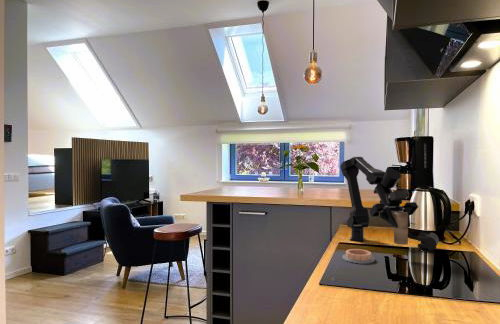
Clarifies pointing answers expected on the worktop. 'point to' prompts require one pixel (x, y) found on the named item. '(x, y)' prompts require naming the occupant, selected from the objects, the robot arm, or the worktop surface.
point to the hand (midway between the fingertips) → (403, 226)
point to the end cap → (427, 241)
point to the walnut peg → (401, 228)
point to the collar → (358, 256)
